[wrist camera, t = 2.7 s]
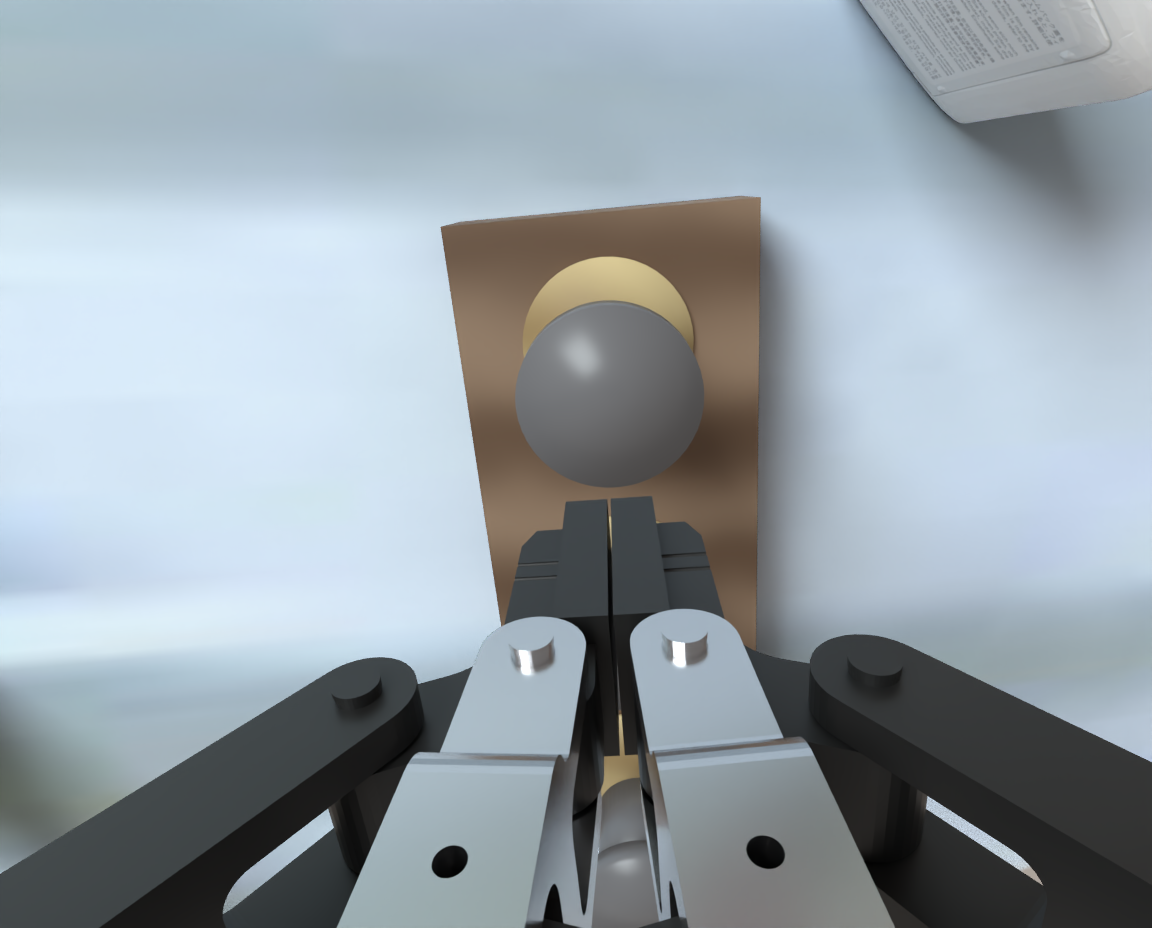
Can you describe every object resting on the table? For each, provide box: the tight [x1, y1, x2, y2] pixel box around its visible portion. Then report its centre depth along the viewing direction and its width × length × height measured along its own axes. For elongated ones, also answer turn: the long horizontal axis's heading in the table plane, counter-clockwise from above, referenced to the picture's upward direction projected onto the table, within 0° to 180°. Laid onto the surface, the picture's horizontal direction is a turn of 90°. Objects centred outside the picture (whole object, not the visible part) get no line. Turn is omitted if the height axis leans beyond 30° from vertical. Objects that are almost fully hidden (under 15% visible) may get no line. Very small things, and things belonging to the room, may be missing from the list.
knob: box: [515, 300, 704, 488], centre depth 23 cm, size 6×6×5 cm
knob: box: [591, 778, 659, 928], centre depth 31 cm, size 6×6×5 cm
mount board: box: [441, 196, 761, 796], centre depth 34 cm, size 32×12×4 cm, turn 5°
